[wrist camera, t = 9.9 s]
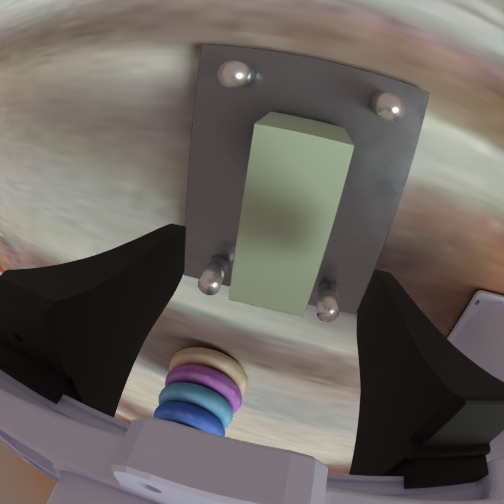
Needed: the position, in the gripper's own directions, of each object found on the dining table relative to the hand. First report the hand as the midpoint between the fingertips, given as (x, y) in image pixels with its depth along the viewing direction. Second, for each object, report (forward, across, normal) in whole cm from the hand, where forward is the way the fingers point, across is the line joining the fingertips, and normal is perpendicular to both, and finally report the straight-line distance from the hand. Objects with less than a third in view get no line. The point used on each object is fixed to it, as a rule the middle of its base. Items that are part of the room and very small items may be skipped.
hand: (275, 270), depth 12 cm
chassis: (+9, 0, 0) cm, 9 cm away
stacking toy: (+10, +4, +20) cm, 23 cm away
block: (+8, 0, 0) cm, 8 cm away
